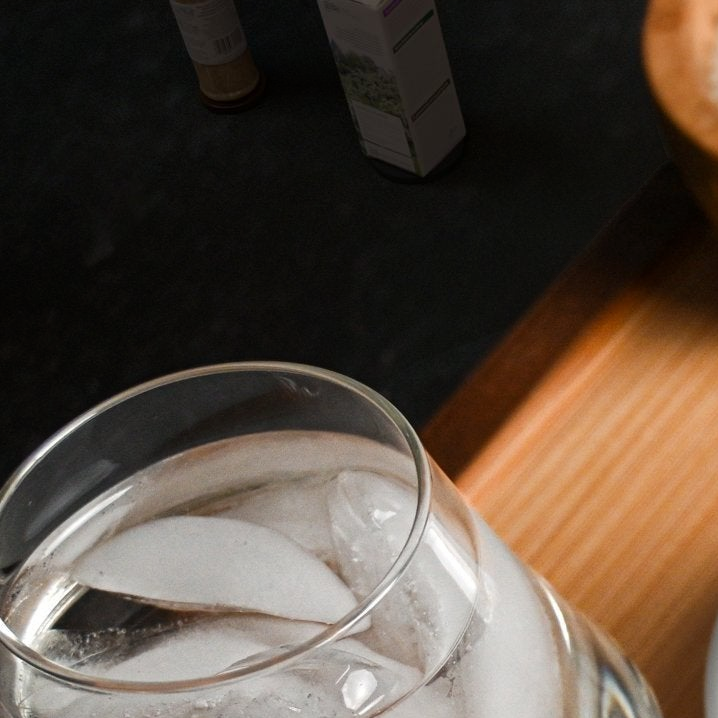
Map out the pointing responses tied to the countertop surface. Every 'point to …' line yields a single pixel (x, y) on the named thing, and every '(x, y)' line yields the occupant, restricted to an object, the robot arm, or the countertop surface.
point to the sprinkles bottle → (217, 47)
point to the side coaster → (440, 170)
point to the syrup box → (395, 79)
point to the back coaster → (239, 104)
